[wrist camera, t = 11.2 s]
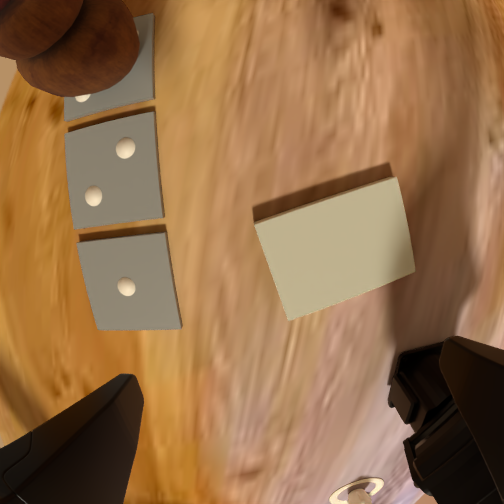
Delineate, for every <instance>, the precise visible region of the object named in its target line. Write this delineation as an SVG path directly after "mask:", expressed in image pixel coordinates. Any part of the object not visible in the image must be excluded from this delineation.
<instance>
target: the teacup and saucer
mask: <svg viewBox="0 0 504 504" xmlns="http://www.w3.org/2000/svg"><path fill="white" fill-rule="evenodd" d="M364 482H374V483H375V484H376V487H375V489H374V490H373V491H372V492H370V493H369V494H367V493H366V491H365V490H364V489H356V490H353V491H351V492H350V493H349V495H348V501H341V500H338V499H337V496H338V494H339V493H340V492H342V491H343V490H345V489H346V488H348V487H351V486H353V485H356V484H359V483H364ZM383 484H384V481H383V480H382V479H380V478H368V479H363V480H359V481H356V482H353V483H350V484H348V485H346V486H344V487H342V488H340V489H338V490H337V491H335V492H334V493H333V494H332V495H331V496H330V498H329V501H330V502H331V503H332V504H372V503H371V501H372V499H371V497H370V496H372V495H374V494H375V493H377V492H378V491H379V490H380V489H381V488H382V486H383Z"/></svg>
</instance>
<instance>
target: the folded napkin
mask: <svg viewBox="0 0 504 504" xmlns="http://www.w3.org/2000/svg"><path fill="white" fill-rule="evenodd" d="M254 226H255V229H256V231H257V234H258V237H259V240H260V243H261V245H262V248H263V251H264V254H265V257H266V259H267V262H268V265H269V268H270V271H271V273H272V276H273V279H274V282H275V285H276V288H277V290H278V293H279V296H280V299H281V302H282V305H283V307H284V310H285V313H286V316H287V319H288V321H290V320H293V319H296V318H299V317H302V316H305V315H307V314H310V313H313V312H316V311H319V310H321V309H324V308H327V307H329V306H332V305H335V304H338V303H340V302H343V301H345V300H348V299H351V298H353V297H356V296H358V295H361V294H363V293H366V292H368V291H371V290H373V289H376V288H378V287H381V286H383V285H386V284H388V283H390V282H393V281H395V280H397V279H400V278H402V277H404V276H407V275H409V274H411V273H414V272H416V270H415V263H414V257H413V251H412V245H411V239H410V234H409V228H408V223H407V218H406V214H405V209H404V205H403V200H402V196H401V192H400V188H399V184H398V180H397V177H387V178H384V179H381V180H378V181H375V182H372V183H369V184H366V185H362V186H359V187H356V188H353V189H350V190H347V191H344V192H341V193H338V194H335V195H332V196H329V197H326V198H323V199H320V200H317V201H314V202H311V203H308V204H305V205H302V206H299V207H296V208H293V209H290V210H288V211H285V212H282V213H279V214H276V215H273V216H270V217H267V218H264V219H262V220H259V221H256V222H254Z"/></svg>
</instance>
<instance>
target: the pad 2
mask: <svg viewBox="0 0 504 504" xmlns="http://www.w3.org/2000/svg"><path fill="white" fill-rule="evenodd" d="M65 153H66V168H67V179H68V189H69V198H70V205H71V213H72V219H73V226H74V229H81V228H88V227H95V226H102V225H110V224H117V223H125V222H133V221H141V220H149V219H158V218H164V217H165V214H164V206H163V197H162V187H161V178H160V167H159V155H158V142H157V127H156V113H155V112H148V113H143V114H138V115H134V116H129V117H125V118H120V119H116V120H112V121H108V122H104V123H100V124H97V125H93V126H89V127H86V128H82V129H79V130H75V131H72V132H69V133H66V134H65Z"/></svg>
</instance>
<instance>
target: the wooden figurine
mask: <svg viewBox="0 0 504 504" xmlns="http://www.w3.org/2000/svg"><path fill="white" fill-rule="evenodd" d="M139 46H140V42H139V37H138V33H137V29H136V25H135V22H134V19H133V16H132V15H131V13H130V11H129V10H128V8H127V7H126V5H125V4H124V3H123V1H122V0H0V56H2V57H5V58H9V59H13V60H16V63H17V69H18V71H19V72H20V74H21V75H22V76H23V78H24V79H25V80H26V81H27V82H28V83H29V84H30V85H31V86H33V87H36V88H38V89H40V90H43V91H45V92H48V93H51V94H54V95H57V96H61V97H76V96H82V95H88V94H94V93H97V92H100V91H103V90H106V89H109V88H111V87H112V86H114V85H115V84H117V83H118V82H120V81H121V80H122V79H123V78H124V77H125V76H126V75H127V74H128V73H129V72H130V71H131V69H132V67H133V66H134V64H135V62H136V60H137V58H138V52H139Z"/></svg>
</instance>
